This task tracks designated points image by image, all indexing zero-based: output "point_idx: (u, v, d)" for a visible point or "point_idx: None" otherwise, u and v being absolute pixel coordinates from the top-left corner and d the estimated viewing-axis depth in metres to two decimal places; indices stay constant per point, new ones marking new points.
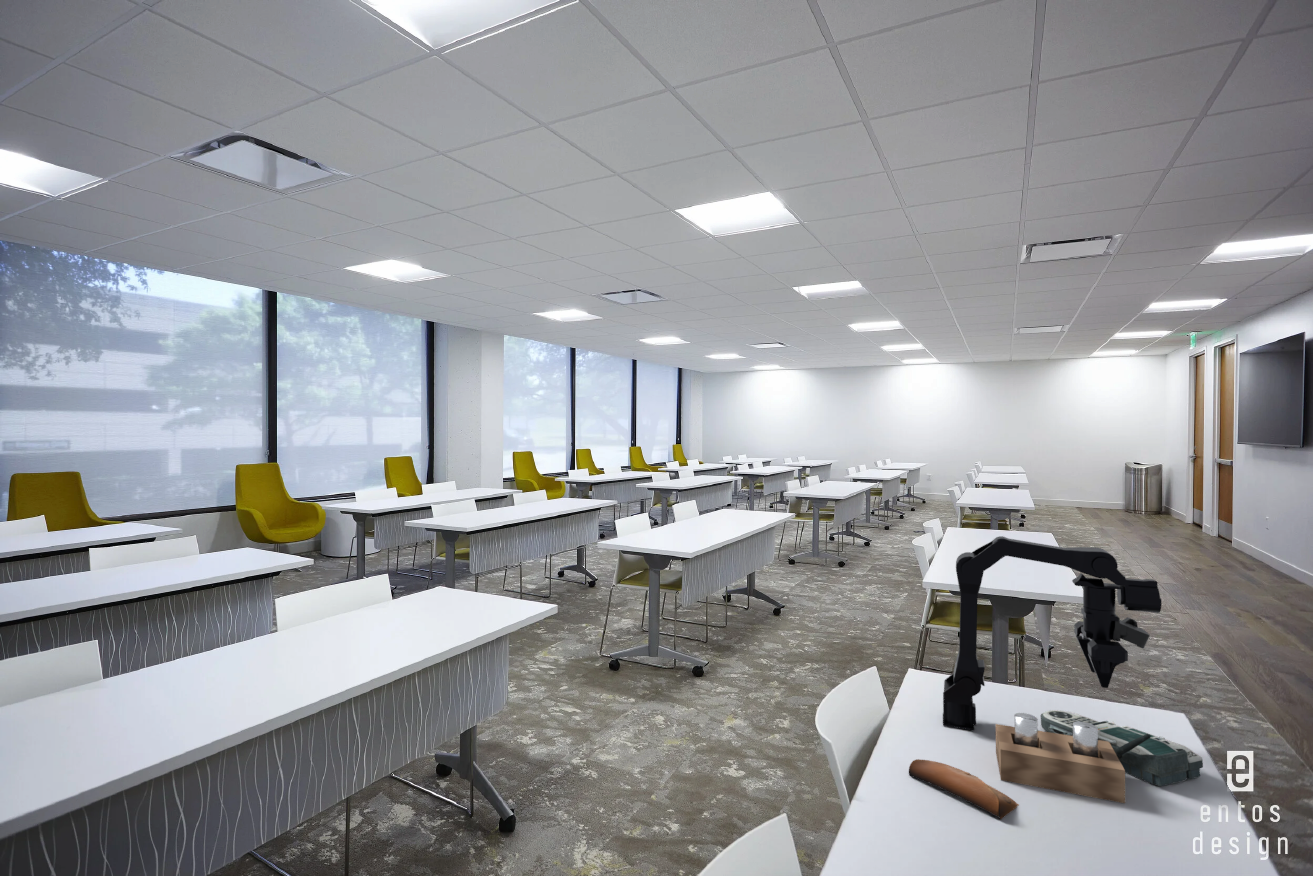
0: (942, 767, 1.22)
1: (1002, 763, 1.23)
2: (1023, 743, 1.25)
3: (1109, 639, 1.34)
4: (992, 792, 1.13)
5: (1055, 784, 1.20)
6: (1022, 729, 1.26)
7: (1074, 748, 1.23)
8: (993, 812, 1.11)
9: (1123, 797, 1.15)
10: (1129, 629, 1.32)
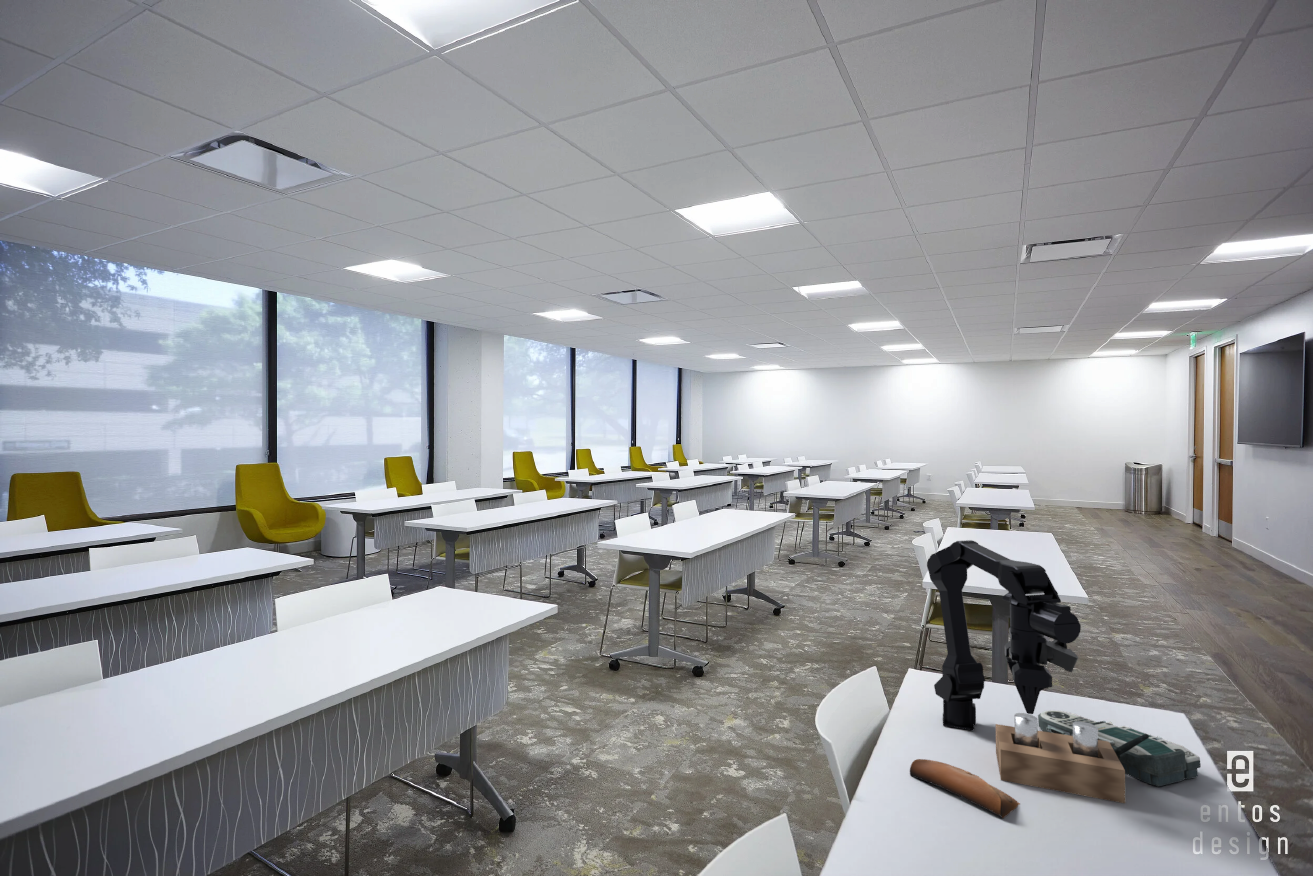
0: (943, 766, 1.22)
1: (1002, 763, 1.23)
2: (1023, 743, 1.25)
3: (1036, 662, 1.24)
4: (994, 791, 1.13)
5: (1055, 784, 1.20)
6: (1022, 729, 1.26)
7: (1074, 748, 1.23)
8: (995, 811, 1.11)
9: (1123, 797, 1.15)
10: (1056, 651, 1.23)
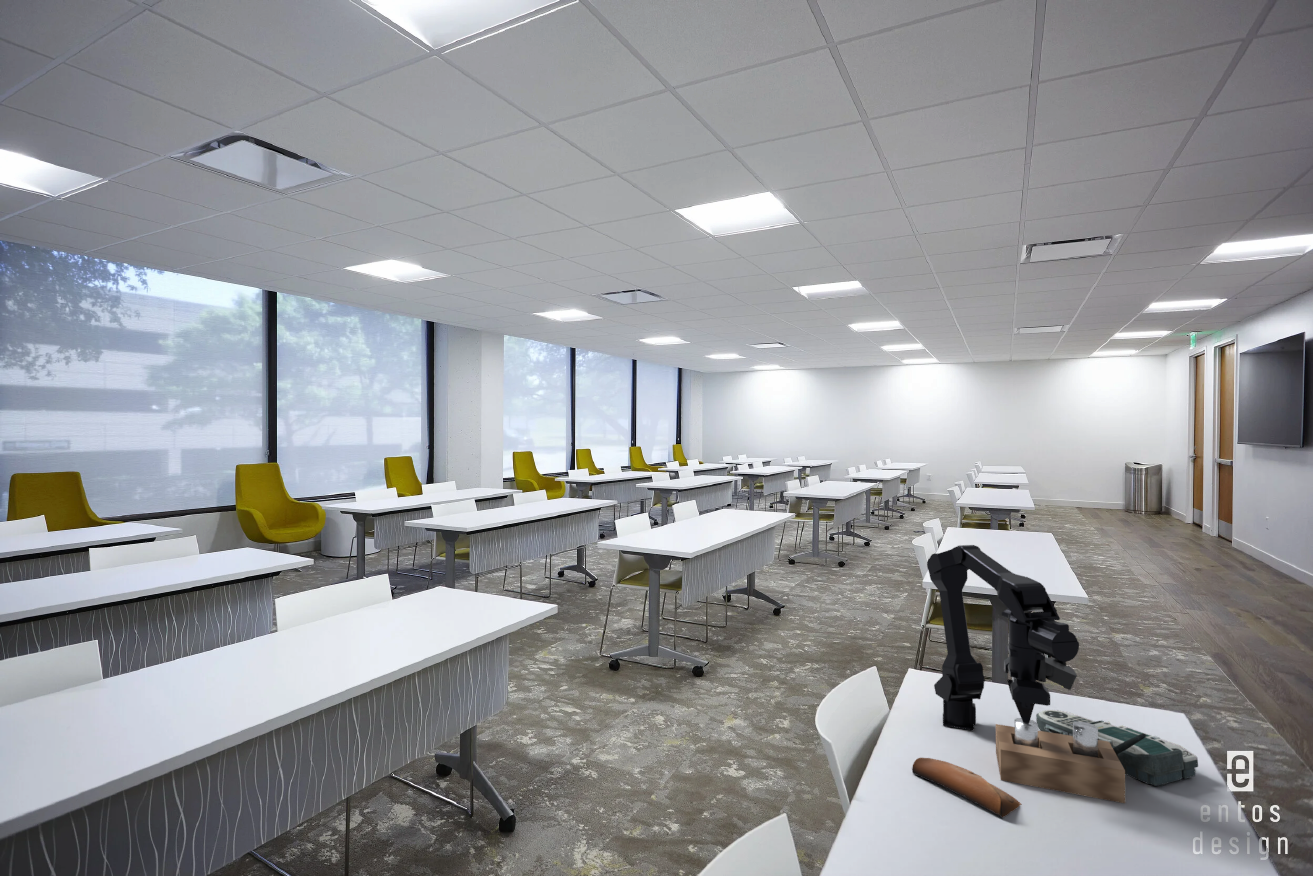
0: (945, 765, 1.22)
1: (1002, 763, 1.23)
2: None
3: (1034, 679, 1.24)
4: (994, 791, 1.13)
5: (1055, 784, 1.20)
6: (1022, 734, 1.26)
7: (1074, 748, 1.23)
8: (995, 811, 1.12)
9: (1123, 797, 1.15)
10: (1055, 669, 1.23)
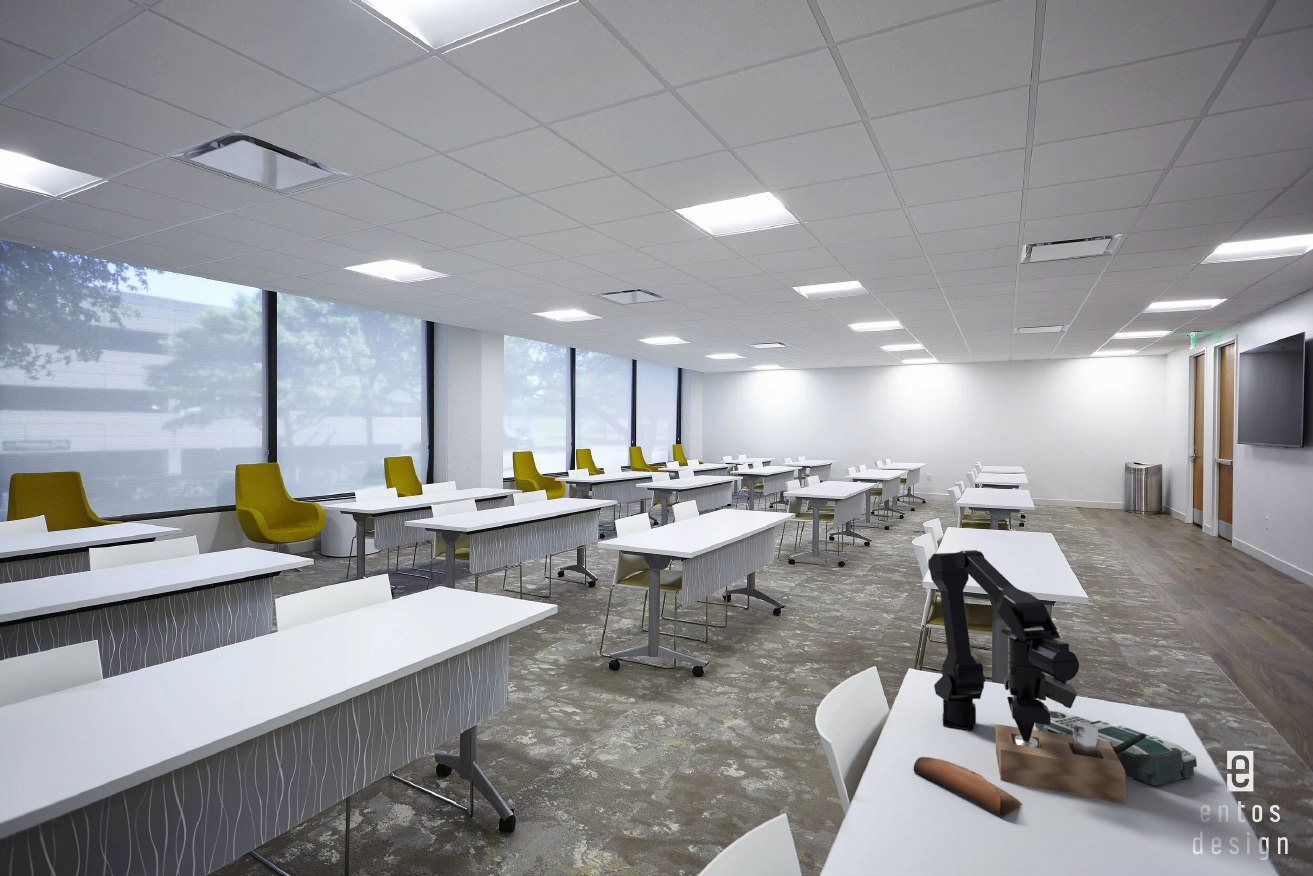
0: (947, 765, 1.23)
1: (1002, 763, 1.23)
2: None
3: (1034, 697, 1.24)
4: (994, 790, 1.13)
5: (1055, 784, 1.20)
6: None
7: (1074, 748, 1.23)
8: (995, 810, 1.12)
9: (1123, 797, 1.15)
10: (1055, 687, 1.23)
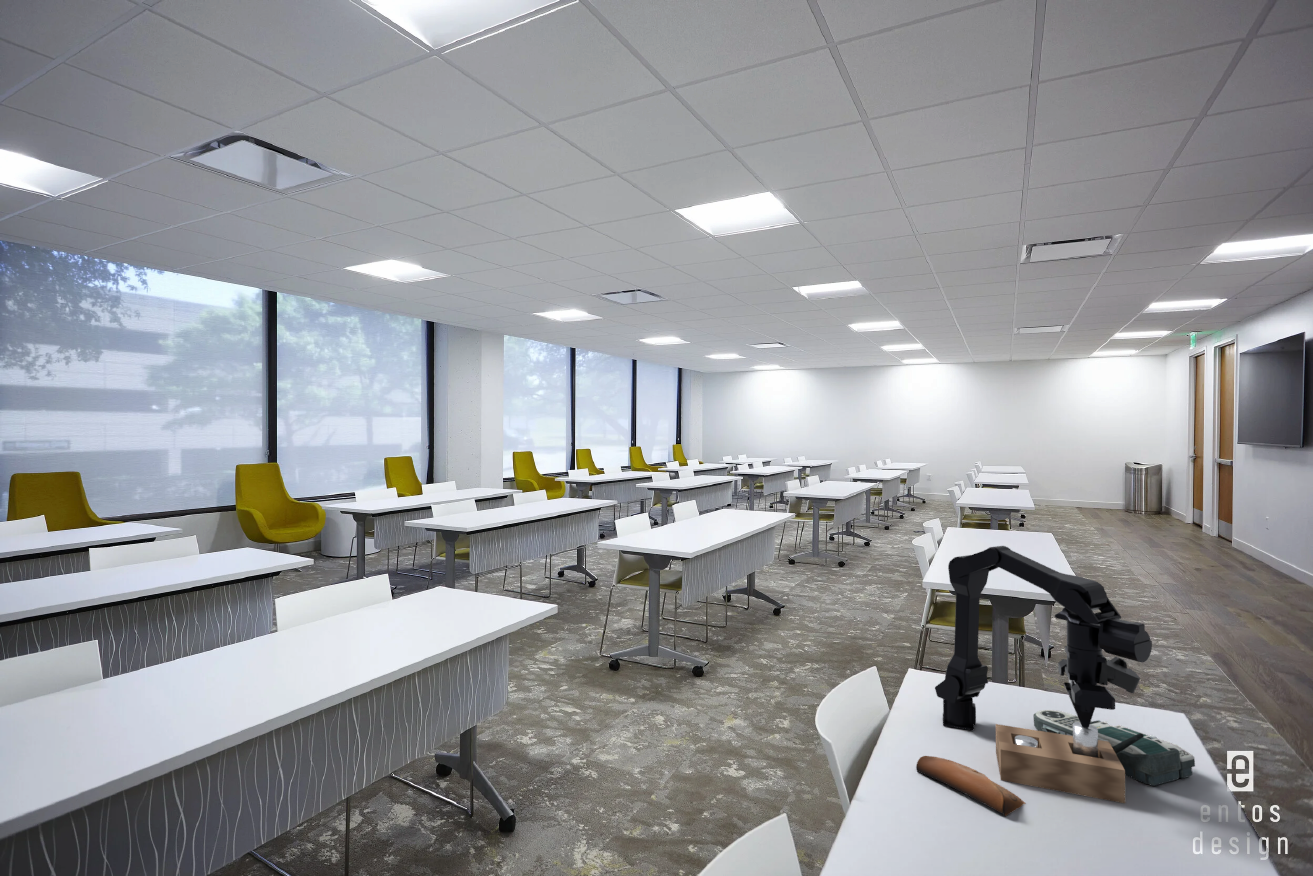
0: (949, 764, 1.23)
1: (1002, 763, 1.23)
2: None
3: (1095, 682, 1.20)
4: (997, 789, 1.14)
5: (1055, 784, 1.20)
6: None
7: (1074, 749, 1.23)
8: (997, 809, 1.12)
9: (1123, 797, 1.15)
10: (1117, 672, 1.19)
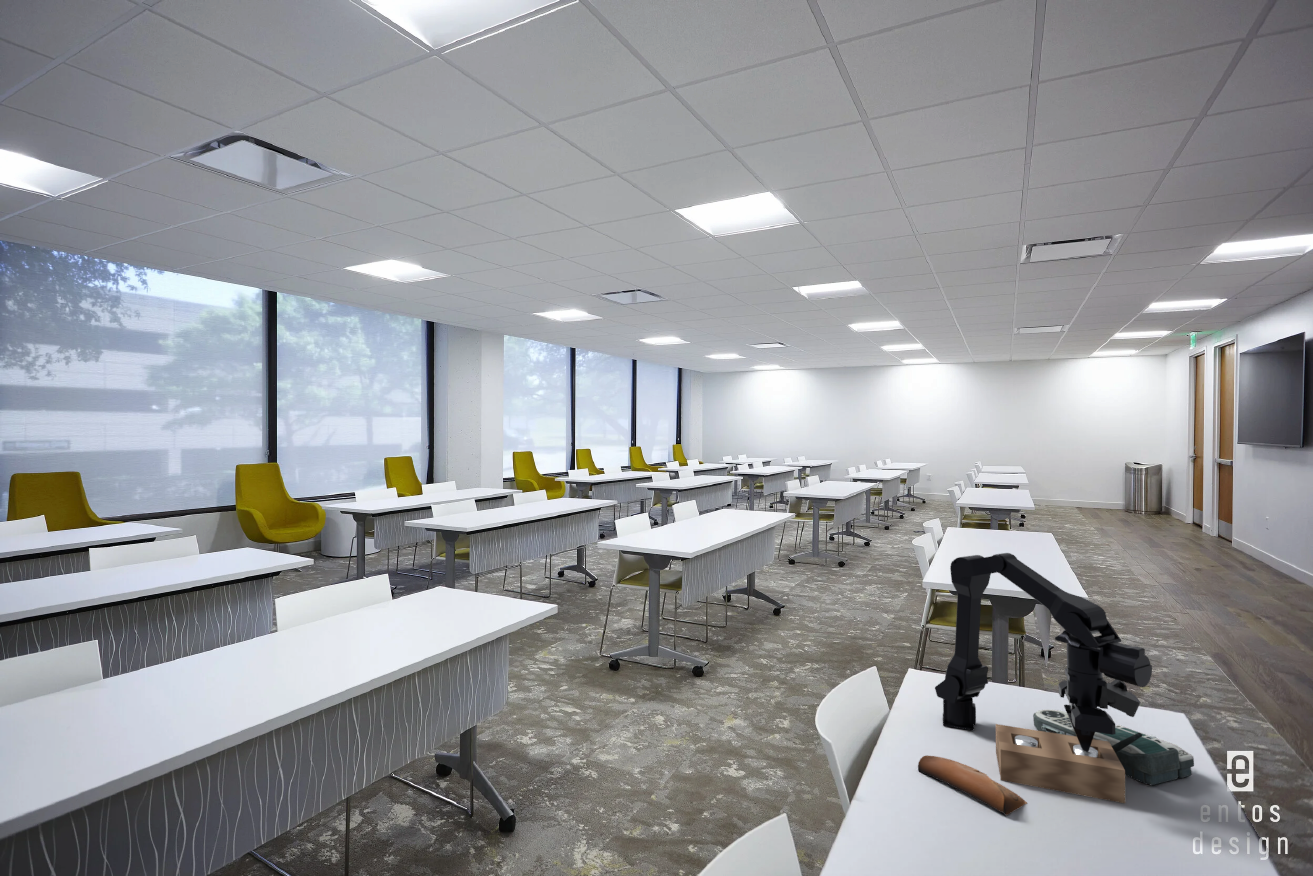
0: (951, 763, 1.23)
1: (1002, 763, 1.23)
2: None
3: (1095, 706, 1.20)
4: (998, 789, 1.14)
5: (1055, 784, 1.20)
6: None
7: None
8: (998, 808, 1.12)
9: (1123, 797, 1.15)
10: (1117, 695, 1.19)
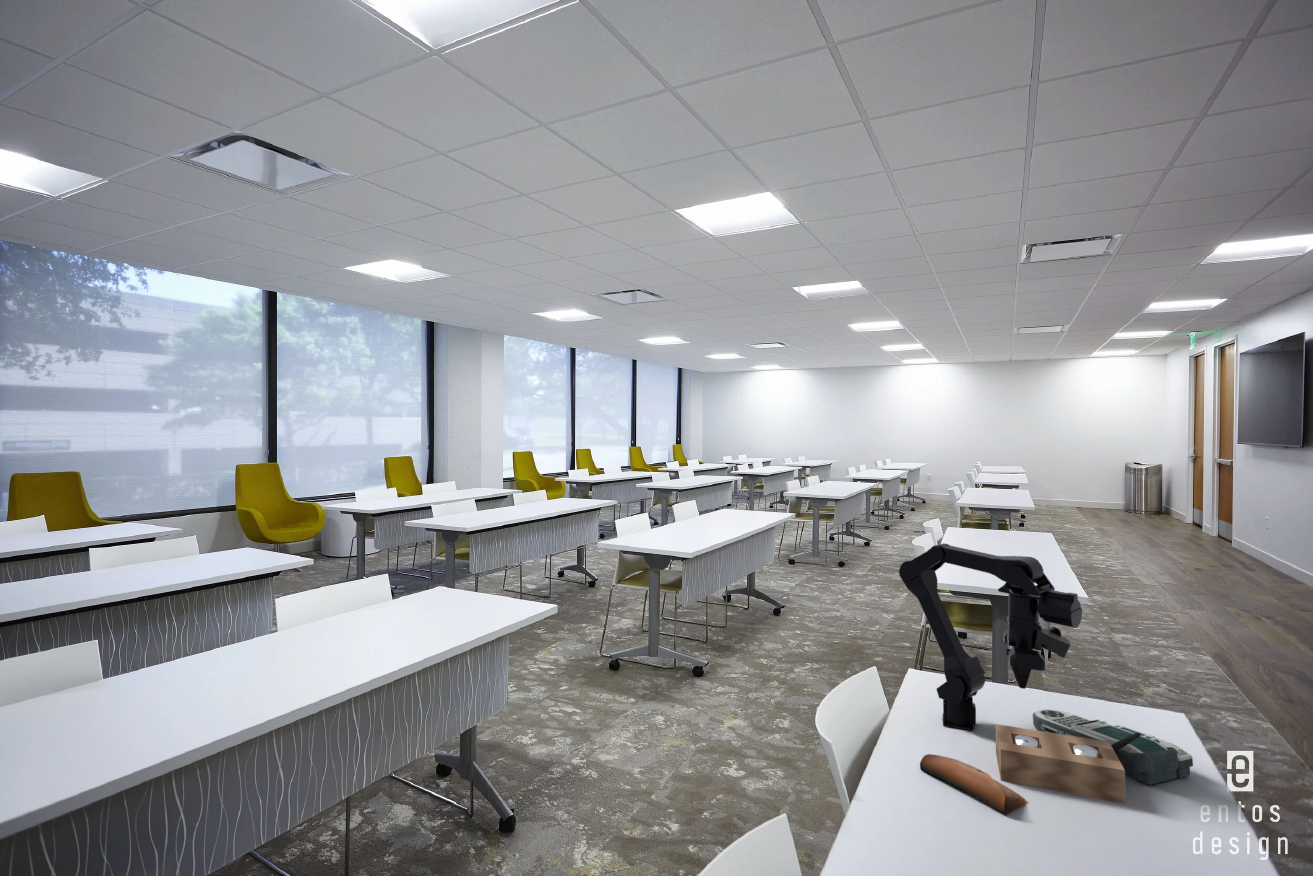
0: (953, 762, 1.23)
1: (1002, 763, 1.23)
2: None
3: (1031, 648, 1.34)
4: (999, 788, 1.14)
5: (1055, 784, 1.20)
6: None
7: None
8: (999, 808, 1.12)
9: (1123, 797, 1.15)
10: (1050, 638, 1.33)
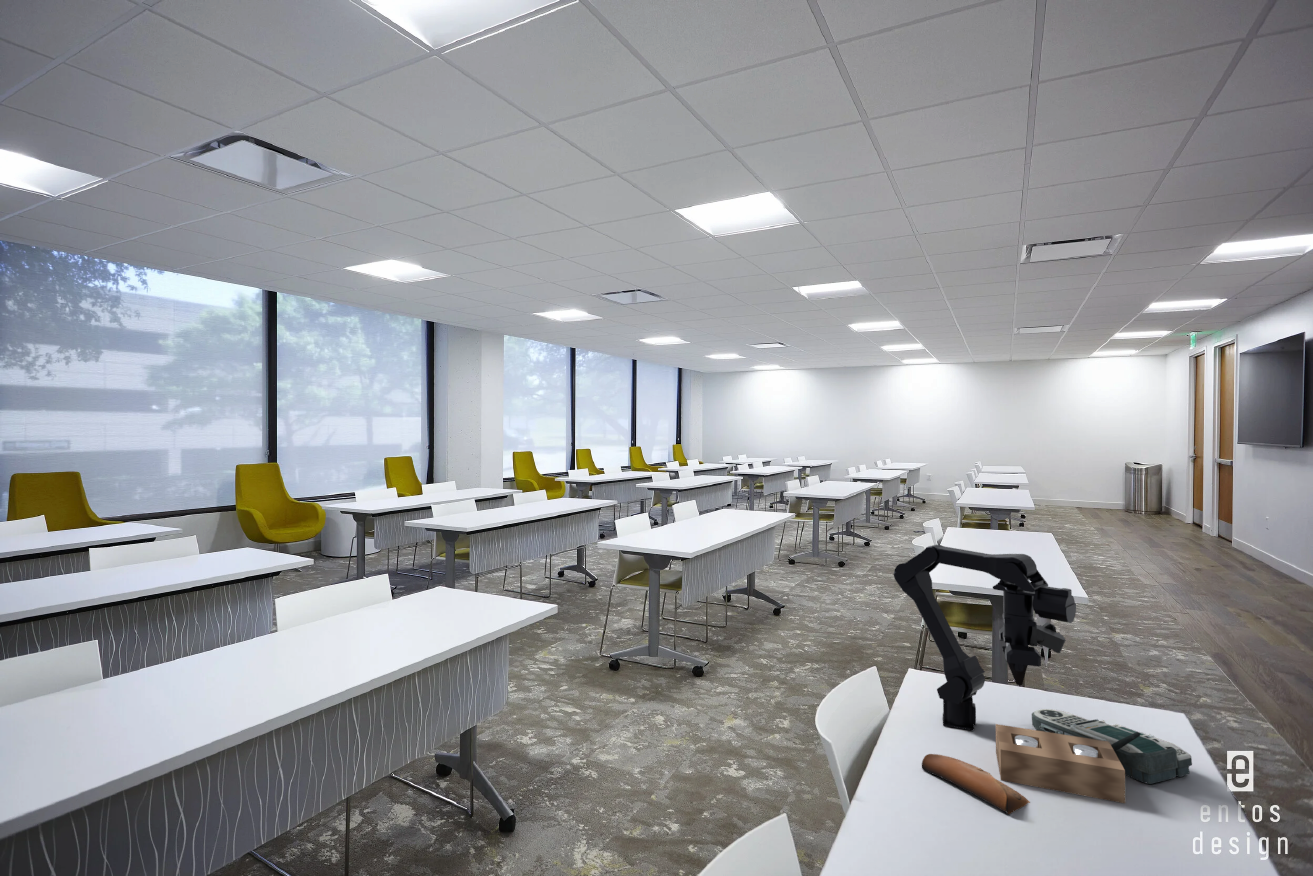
0: (954, 762, 1.24)
1: (1002, 763, 1.23)
2: None
3: (1027, 644, 1.35)
4: (1001, 787, 1.14)
5: (1055, 784, 1.20)
6: None
7: None
8: (1001, 807, 1.13)
9: (1123, 797, 1.15)
10: (1046, 634, 1.34)
